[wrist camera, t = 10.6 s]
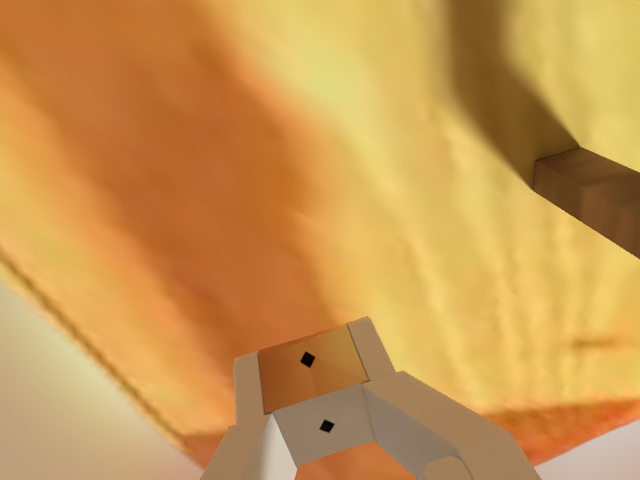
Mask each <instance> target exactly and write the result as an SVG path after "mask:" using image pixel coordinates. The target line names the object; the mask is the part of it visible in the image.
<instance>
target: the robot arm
mask: <svg viewBox="0 0 640 480" xmlns="http://www.w3.org/2000/svg"><path fill="white" fill-rule="evenodd" d="M234 383H235V404H236V425H233V426H230V427H229V428H228V430H227V432H226V434H225V435H224V437H223V439H222V441H221V443H220V444H219V446H218V448H217V450H216V451H215V453H214V455H213V457H212V459H211V460H210V462H209V464H208V466H207V468H206V469H205V471H204V473H203V475H202V476H201V478H200V480H294V478H295V475H296V472H297V468H296V467H297V466H300V465H303V464H305V463H308V462H311V461H313V460H316V459H319V458H322V457H324V456H327V455H330V454H333V453H335V452H339V451H342V450H345V449H349V448H352V447H355V446H358V445H362V444H365V443H368V442H372V441H376V443H377V444H378V445H379V446H380V447H382V448H383V449H384V450H385V451H386V452H387V453H388V454H390V455H391V456H392V457H393V458H394V459H395V460H396V461H397V462H399V463H400V464H401V465H402V466H403V467H404V468H405V469H407V470H408V471H409V472H410V473H411V474H412V475H413V476H415V477H416V478H417V479H418V480H541V478H540V476H539V475H538V473H537V472H536V470H535V469H534V467H533V466H532V464H531V463H530V461H529V460H528V458H527V457H526V455H525V454H524V452H523V451H522V449H521V448H520V446H519V445H518V443H517V442H516V440H515V439H514V437H513V436H512V434H511V433H509V432H508V431H506V430H504V429H503V428H501V427H499V426H497V425H496V424H494V423H492V422H490V421H489V420H487V419H485V418H484V417H482V416H480V415H478V414H477V413H475V412H473V411H472V410H470V409H468V408H466V407H465V406H463V405H461V404H460V403H458V402H456V401H454V400H453V399H451V398H449V397H448V396H446V395H444V394H442V393H441V392H439V391H437V390H436V389H434V388H432V387H430V386H429V385H427V384H425V383H424V382H422V381H420V380H418V379H417V378H415V377H413V376H412V375H410V374H408V373H406V372H405V371H400V372H397V373H396V371H395V369H394V367H393V365H392V363H391V361H390V358H389V356H388V354H387V352H386V350H385V348H384V346H383V344H382V342H381V339H380V337H379V335H378V333H377V331H376V329H375V327H374V325H373V323H372V320H371V319H370V318H369V317H368V316H367V317H364V318H361V319H358V320H355V321H352V322H349V323H346V324H343V325H340V326H337V327H334V328H331V329H327V330H324V331H321V332H318V333H315V334H312V335H309V336H306V337H303V338H300V339H297V340H293V341H290V342H286V343H283V344H279V345H276V346H272V347H269V348H265V349H262V350H258V351H257V352H253V353H250V354H246V355H243V356H239V357H236V358H235V361H234Z"/></svg>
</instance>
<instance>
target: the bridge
mask: <svg viewBox="0 0 640 480" xmlns="http://www.w3.org/2000/svg"><path fill="white" fill-rule="evenodd" d="M533 191H534V192H536V193H537V194H539V195H540V196H542V197H543V198H545V199H547V200H548V201H550V202H551V203H553V204H554V205H556V206H557V207H559V208H561V209H562V210H564V211H565V212H567V213H568V214H570V215H572V216H573V217H575V218H576V219H578V220H579V221H581V222H583V223H584V224H586V225H587V226H589V227H590V228H592V229H593V230H595V231H597V232H598V233H600V234H601V235H603V236H604V237H606V238H608V239H609V240H611V241H612V242H614V243H615V244H617V245H618V246H620V247H622V248H623V249H625V250H626V251H628V252H629V253H631V254H633V255H634V256H636V257H637V258H639V259H640V173H639V172H637V171H635V170H632V169H630V168H628V167H626V166H623V165H621V164H619V163H616V162H614V161H612V160H610V159H607V158H605V157H603V156H600V155H598V154H596V153H594V152H591V151H589V150H587V149H584V148H582V147H581V148H578V149H574V150H571V151H568V152H564V153H561V154H557V155H554V156H551V157H547V158H544V159H540V160H537V161H535V171H534V184H533Z"/></svg>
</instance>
